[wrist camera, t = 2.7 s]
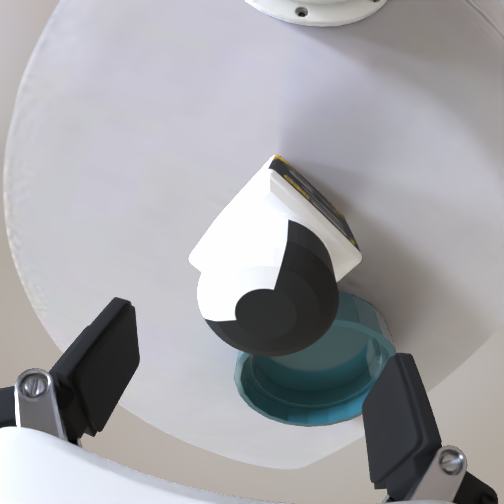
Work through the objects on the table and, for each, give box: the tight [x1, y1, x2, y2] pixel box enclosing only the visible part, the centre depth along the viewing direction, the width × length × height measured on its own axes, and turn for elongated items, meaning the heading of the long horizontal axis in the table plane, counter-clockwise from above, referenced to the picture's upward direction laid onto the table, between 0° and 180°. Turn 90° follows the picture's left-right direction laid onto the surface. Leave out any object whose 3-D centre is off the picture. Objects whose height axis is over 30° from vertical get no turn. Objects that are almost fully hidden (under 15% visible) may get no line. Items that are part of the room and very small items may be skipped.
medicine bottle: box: [189, 155, 362, 357], centre depth 17 cm, size 7×7×12 cm
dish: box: [234, 292, 396, 427], centre depth 26 cm, size 14×14×4 cm
